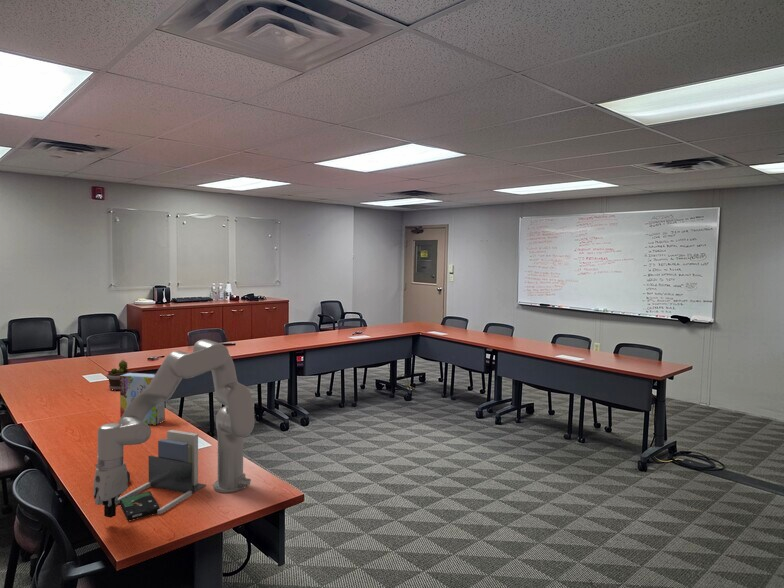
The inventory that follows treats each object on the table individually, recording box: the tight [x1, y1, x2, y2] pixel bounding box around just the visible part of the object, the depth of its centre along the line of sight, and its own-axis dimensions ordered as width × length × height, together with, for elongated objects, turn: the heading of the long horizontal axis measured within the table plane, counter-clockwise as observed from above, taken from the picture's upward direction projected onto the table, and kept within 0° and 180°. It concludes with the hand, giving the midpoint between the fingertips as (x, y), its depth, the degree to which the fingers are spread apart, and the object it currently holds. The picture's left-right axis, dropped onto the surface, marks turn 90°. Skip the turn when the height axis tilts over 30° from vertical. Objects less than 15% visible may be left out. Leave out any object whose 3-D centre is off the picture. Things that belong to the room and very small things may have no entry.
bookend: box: [148, 455, 207, 495], centre depth 197 cm, size 20×8×12 cm, turn 72°
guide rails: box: [116, 481, 193, 515], centre depth 186 cm, size 21×16×2 cm
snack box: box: [119, 372, 166, 426], centre depth 271 cm, size 22×9×26 cm, turn 80°
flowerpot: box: [106, 358, 132, 391], centre depth 335 cm, size 14×15×20 cm
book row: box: [157, 429, 199, 486], centre depth 197 cm, size 13×7×20 cm, turn 72°
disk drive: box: [119, 490, 161, 522], centre depth 179 cm, size 10×3×15 cm
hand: (110, 515), depth 168 cm, fingers closed
